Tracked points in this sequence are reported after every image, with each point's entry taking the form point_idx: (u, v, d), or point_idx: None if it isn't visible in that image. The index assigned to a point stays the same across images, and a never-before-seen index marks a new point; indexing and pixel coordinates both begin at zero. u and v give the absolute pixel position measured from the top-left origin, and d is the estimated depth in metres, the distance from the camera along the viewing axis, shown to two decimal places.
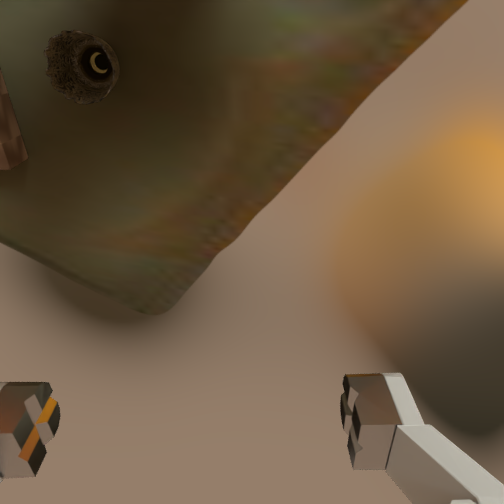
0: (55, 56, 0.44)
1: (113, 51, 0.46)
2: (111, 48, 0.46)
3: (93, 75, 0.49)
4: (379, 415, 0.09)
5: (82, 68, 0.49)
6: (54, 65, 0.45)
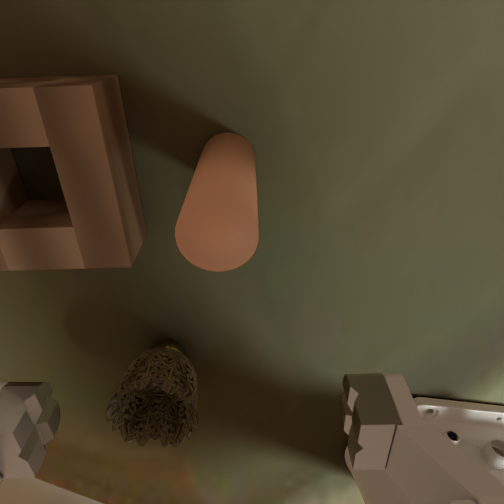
0: None
1: None
2: None
3: None
4: (379, 415, 0.09)
5: None
6: None
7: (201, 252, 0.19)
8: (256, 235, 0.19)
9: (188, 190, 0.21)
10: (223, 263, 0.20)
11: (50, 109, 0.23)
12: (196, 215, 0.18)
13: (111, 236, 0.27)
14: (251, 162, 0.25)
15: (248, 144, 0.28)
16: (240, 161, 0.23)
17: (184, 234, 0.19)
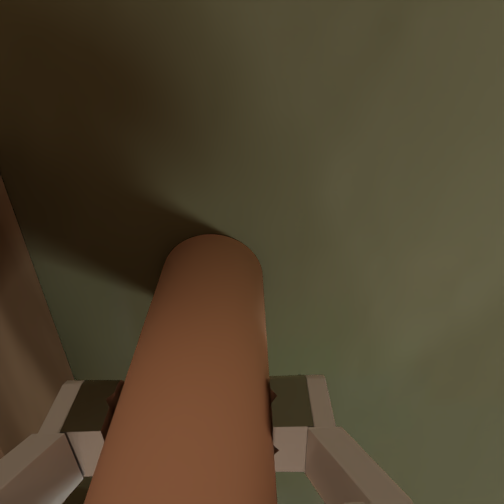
0: None
1: None
2: None
3: None
4: (293, 417, 0.09)
5: None
6: None
7: None
8: None
9: (93, 479, 0.08)
10: None
11: None
12: None
13: None
14: (258, 322, 0.12)
15: (250, 258, 0.15)
16: (234, 348, 0.10)
17: None
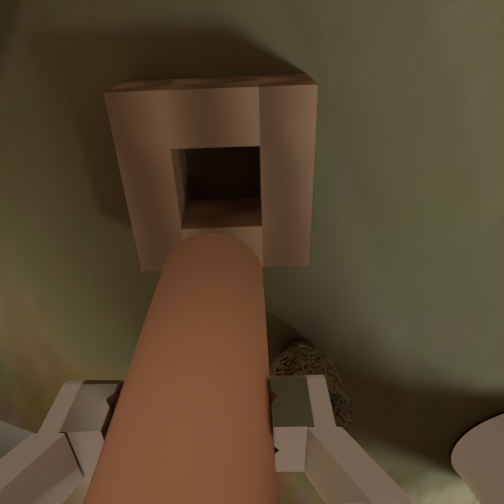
0: None
1: None
2: None
3: None
4: (293, 417, 0.09)
5: None
6: None
7: None
8: None
9: (93, 476, 0.08)
10: None
11: (270, 108, 0.23)
12: None
13: (297, 235, 0.27)
14: (258, 321, 0.12)
15: (251, 257, 0.15)
16: (234, 347, 0.10)
17: None
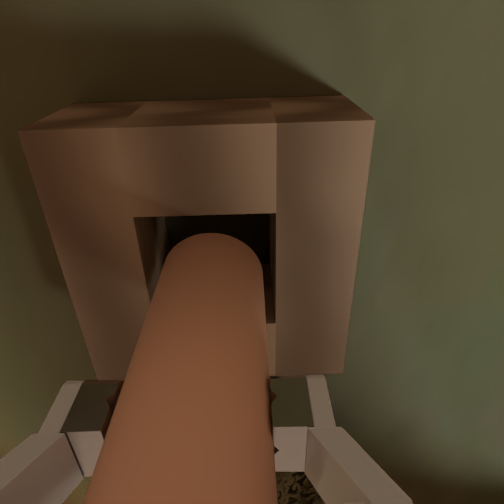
0: None
1: None
2: None
3: None
4: (293, 417, 0.09)
5: None
6: None
7: None
8: None
9: (93, 476, 0.08)
10: None
11: (295, 157, 0.14)
12: None
13: (327, 335, 0.18)
14: (258, 321, 0.12)
15: (251, 257, 0.15)
16: (234, 346, 0.10)
17: None
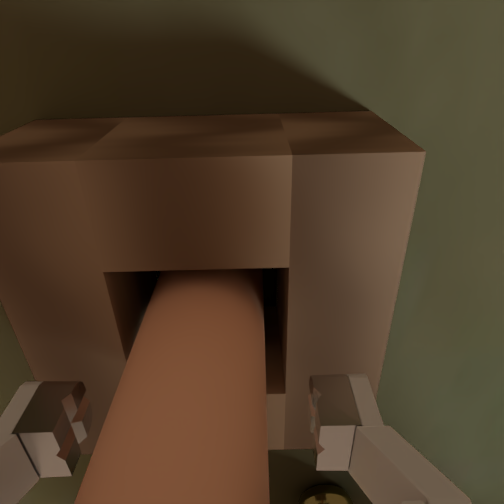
0: None
1: None
2: None
3: None
4: (340, 416, 0.09)
5: None
6: None
7: None
8: None
9: (108, 413, 0.09)
10: None
11: (315, 199, 0.10)
12: None
13: None
14: (255, 293, 0.13)
15: None
16: (232, 311, 0.11)
17: None
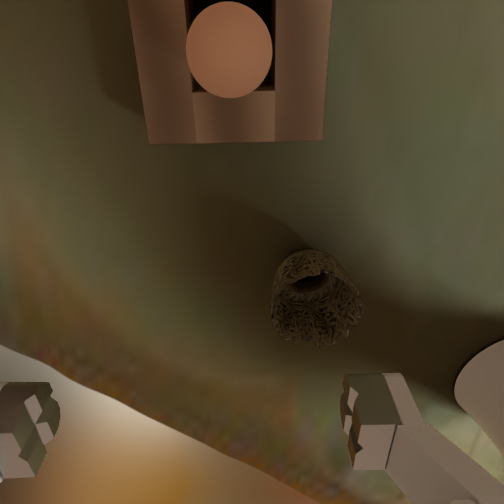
0: None
1: None
2: (326, 310, 0.36)
3: None
4: (379, 415, 0.09)
5: None
6: None
7: (212, 72, 0.19)
8: (270, 51, 0.18)
9: None
10: (235, 87, 0.19)
11: None
12: (208, 24, 0.18)
13: (310, 102, 0.26)
14: None
15: None
16: None
17: (195, 48, 0.18)
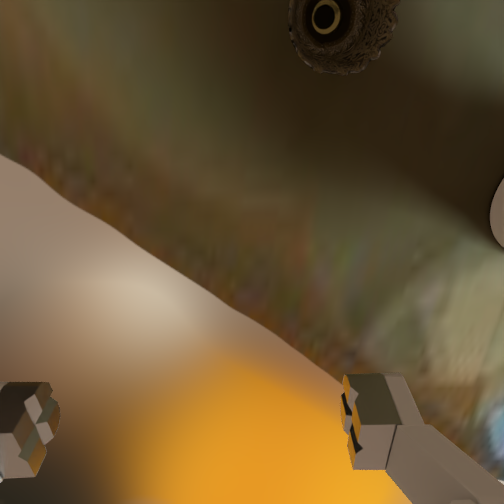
0: None
1: None
2: None
3: (312, 6, 0.31)
4: (379, 415, 0.09)
5: None
6: None
7: None
8: None
9: None
10: None
11: None
12: None
13: None
14: None
15: None
16: None
17: None
